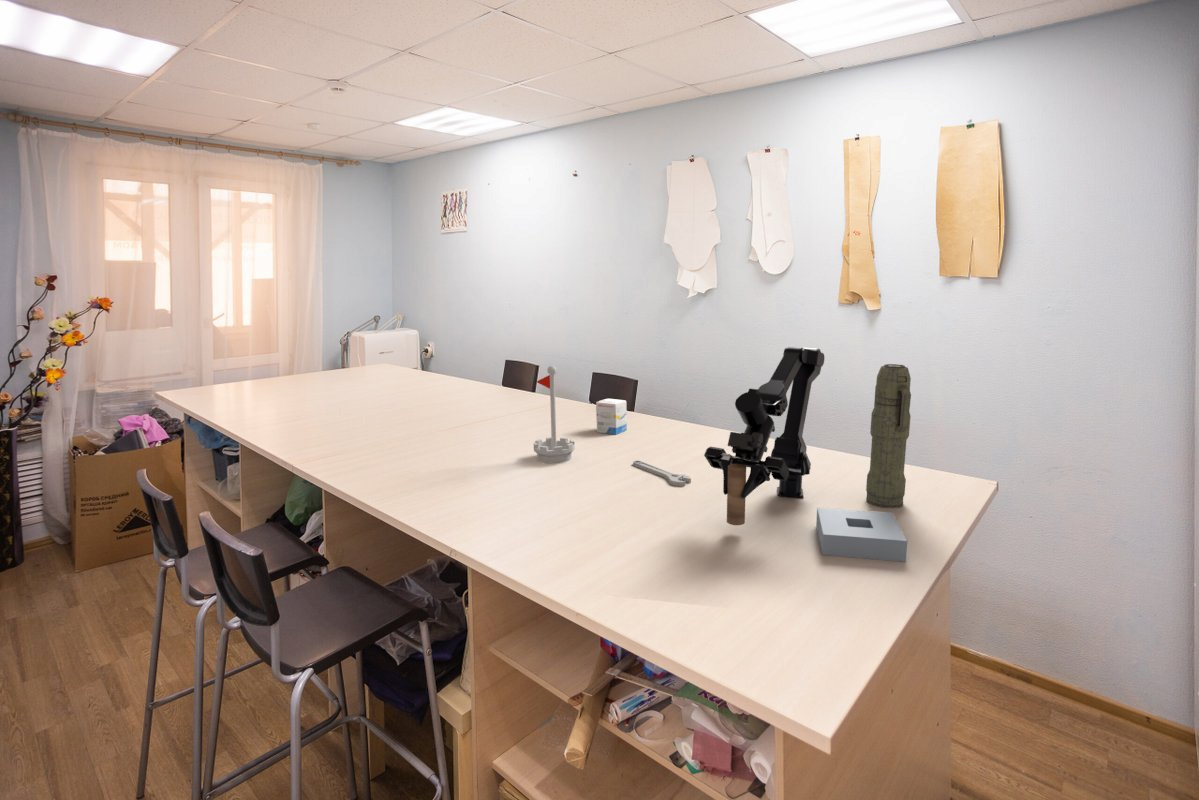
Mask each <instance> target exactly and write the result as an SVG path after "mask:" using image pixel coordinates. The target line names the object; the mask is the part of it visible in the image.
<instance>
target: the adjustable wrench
mask: <svg viewBox="0 0 1199 800" xmlns="http://www.w3.org/2000/svg"><path fill="white" fill-rule="evenodd" d="M632 465H633V466H634V467H637V468H639V469H642V470H645V471H646V472H649V473H651V474H654V475H656V476H659V477H662V478H664V479H666V480H667V481H668V482H669V484H670V485H672V486H676V487H686V483H687V482H688V484H691V483H692V478H691V476H689V475H686V474H685V473H684V474H679V473H673V472H670V471H667V470H665V469H662V468H659V467H657V466H654V465H652V464H649V463H647V462H644V461H642V460H633V461H632Z"/></svg>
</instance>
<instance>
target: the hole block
mask: <svg viewBox="0 0 1199 800" xmlns="http://www.w3.org/2000/svg"><path fill="white" fill-rule="evenodd" d="M815 526H816V530H817V531H816V533H817V535H818V536H817V537H818V541H819V546H820V551H821V555H823V556H831V557H832V556H834V557H843V558H844V557H845V558H846V557H847V558H856V559H869V560H882V561H889V562H890V561H893V562H901V563H906V561H907V549H908V540H907V537H906V536H905V533H904V532H903V530H902V528H901V526H900V524H899V522H898V520H897V519H896V517H895V515H894V513H893V512H891V511H890V512H887V511H875V510H874V511H871V510H861V509H860V510H858V509H847V508H845V509H843V508H831V507H816V525H815Z"/></svg>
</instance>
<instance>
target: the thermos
mask: <svg viewBox="0 0 1199 800" xmlns="http://www.w3.org/2000/svg"><path fill="white" fill-rule="evenodd" d="M911 380H912V378H911V373H910V371H909V367H908V366H905V365H903V364H897V363H896V364H895V363H894V364H893V363H890V364H889V363H888V364H884V365H881V366H880V368H879V371H878V373H877V375H876V382H875V383H876V384H875V391H874V404H873V408H872V411H871V418H870V419H871V420H870V435H871V448H870V460H869V461H870V462H869V464H870V465H869V471H868V472H867V474H866V485H865V487H866V488H865V491H866V498H865V501H866V502H867V504H868V505H869V504H870V505H872V506H874V507H879V508H885V509H897V508H898V509H899V508H900V507H903V506H904V496H905V495H906V481H907V480H906V475H905V465H906V463H905V462H906V450H907V440H908V439H909V437H910V430H911V429H910V428H911V427H910V425H911V412H910V408H911V397H912V394H911Z"/></svg>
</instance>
